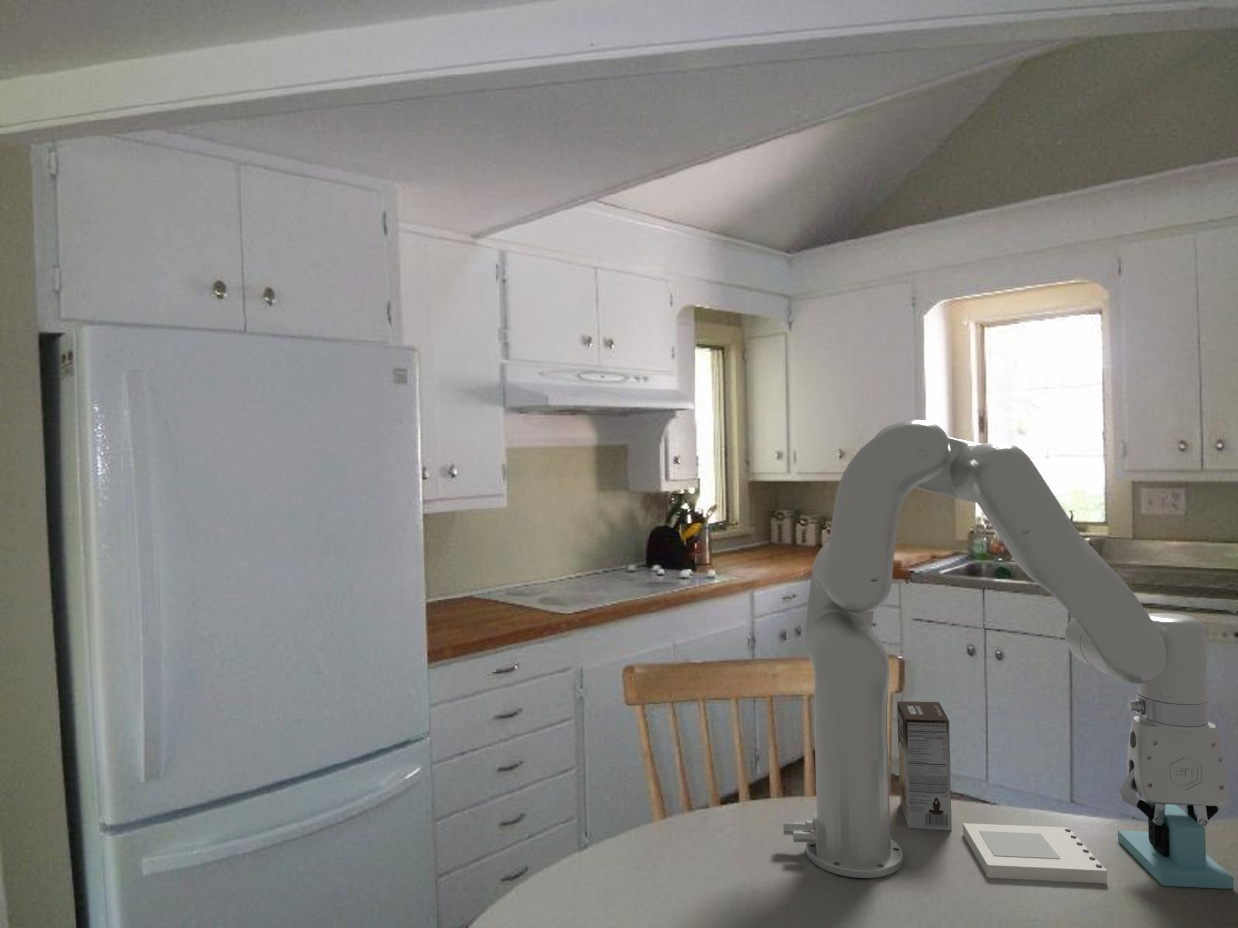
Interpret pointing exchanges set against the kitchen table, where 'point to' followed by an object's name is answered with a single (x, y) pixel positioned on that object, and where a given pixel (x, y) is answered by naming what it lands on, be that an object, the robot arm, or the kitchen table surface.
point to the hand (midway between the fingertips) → (1176, 850)
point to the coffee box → (924, 765)
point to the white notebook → (1033, 853)
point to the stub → (1178, 854)
